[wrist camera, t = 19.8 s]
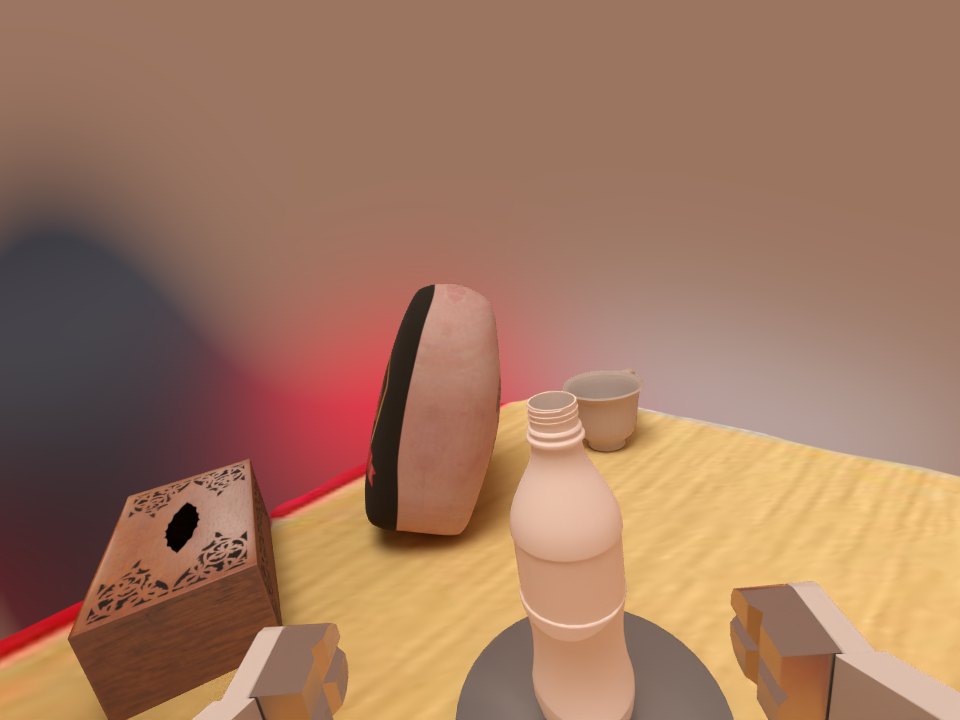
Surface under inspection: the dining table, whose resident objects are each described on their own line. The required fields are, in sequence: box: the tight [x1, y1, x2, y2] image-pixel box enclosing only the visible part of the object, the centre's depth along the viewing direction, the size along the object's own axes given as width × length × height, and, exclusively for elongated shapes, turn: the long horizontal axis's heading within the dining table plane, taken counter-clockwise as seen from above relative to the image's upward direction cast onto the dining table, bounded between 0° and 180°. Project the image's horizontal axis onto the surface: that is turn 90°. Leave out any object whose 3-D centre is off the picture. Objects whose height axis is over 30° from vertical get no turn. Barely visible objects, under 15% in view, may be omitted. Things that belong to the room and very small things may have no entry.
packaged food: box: [365, 284, 501, 535], centre depth 62 cm, size 22×20×30 cm
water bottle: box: [510, 391, 635, 720], centre depth 33 cm, size 7×7×25 cm
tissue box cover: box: [68, 459, 282, 720], centre depth 55 cm, size 26×14×10 cm, turn 26°
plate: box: [456, 611, 734, 720], centre depth 37 cm, size 20×20×1 cm
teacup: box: [562, 369, 644, 452], centre depth 76 cm, size 12×15×10 cm
